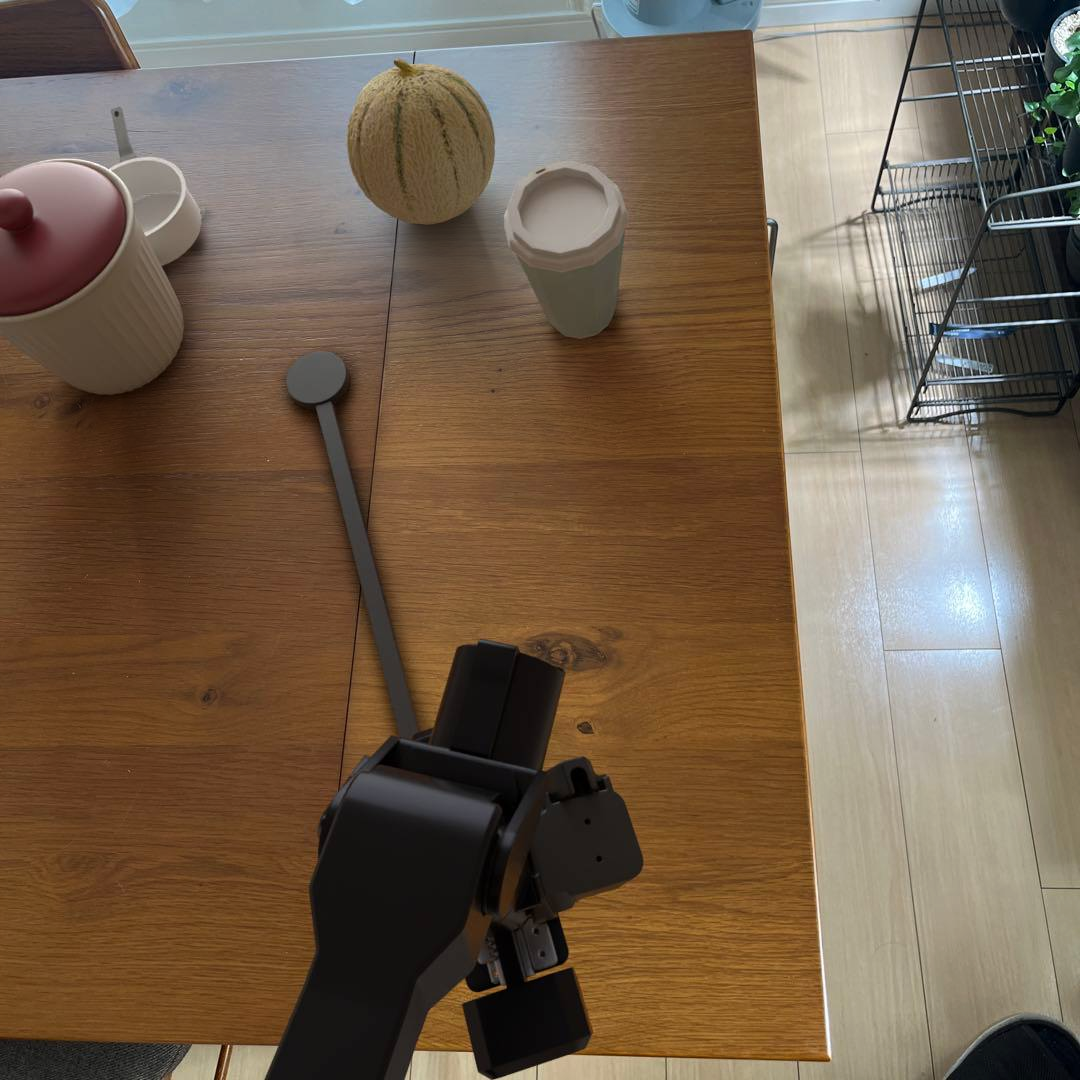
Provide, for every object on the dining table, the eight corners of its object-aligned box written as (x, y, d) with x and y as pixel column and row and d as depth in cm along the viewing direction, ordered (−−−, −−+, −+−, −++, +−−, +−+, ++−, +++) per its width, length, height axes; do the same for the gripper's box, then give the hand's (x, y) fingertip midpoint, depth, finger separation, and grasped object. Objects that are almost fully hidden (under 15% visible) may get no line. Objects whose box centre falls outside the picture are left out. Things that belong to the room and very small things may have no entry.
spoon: (448, 729, 78) (445, 725, 77) (378, 753, 78) (373, 750, 77) (342, 350, 95) (338, 343, 94) (284, 369, 95) (280, 362, 94)
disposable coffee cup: (653, 329, 92) (651, 217, 78) (553, 378, 91) (533, 273, 77) (602, 254, 96) (591, 136, 82) (506, 300, 95) (479, 188, 82)
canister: (227, 272, 101) (125, 108, 82) (197, 420, 94) (77, 278, 74) (66, 282, 103) (-70, 124, 84) (25, 427, 96) (-135, 291, 77)
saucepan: (188, 131, 110) (165, 90, 105) (217, 257, 102) (194, 219, 97) (92, 163, 110) (65, 124, 105) (114, 292, 102) (85, 256, 97)
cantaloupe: (407, 277, 98) (365, 165, 84) (347, 188, 104) (299, 70, 90) (532, 210, 99) (511, 90, 86) (466, 127, 106) (437, 2, 92)
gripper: (688, 1021, 44) (683, 1008, 58) (566, 649, 52) (587, 718, 66) (456, 1099, 44) (507, 1067, 58) (368, 714, 51) (432, 769, 66)
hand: (513, 893), depth 62 cm, fingers closed on lighter, 3 cm apart
